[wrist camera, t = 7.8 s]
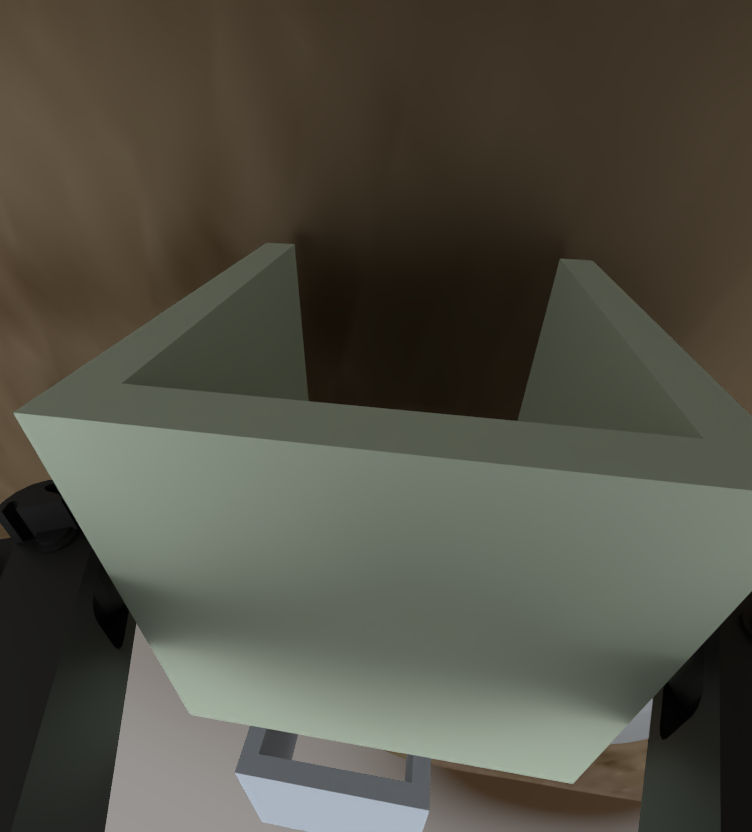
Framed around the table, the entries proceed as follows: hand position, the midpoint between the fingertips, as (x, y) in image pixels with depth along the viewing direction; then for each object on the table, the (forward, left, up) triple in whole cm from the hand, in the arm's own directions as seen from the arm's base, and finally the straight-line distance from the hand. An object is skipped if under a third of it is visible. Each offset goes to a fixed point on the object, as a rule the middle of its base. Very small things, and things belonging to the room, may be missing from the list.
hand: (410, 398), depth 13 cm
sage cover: (0, 0, -1) cm, 1 cm away
